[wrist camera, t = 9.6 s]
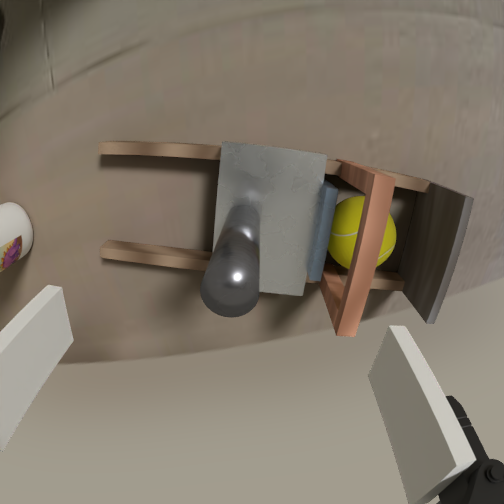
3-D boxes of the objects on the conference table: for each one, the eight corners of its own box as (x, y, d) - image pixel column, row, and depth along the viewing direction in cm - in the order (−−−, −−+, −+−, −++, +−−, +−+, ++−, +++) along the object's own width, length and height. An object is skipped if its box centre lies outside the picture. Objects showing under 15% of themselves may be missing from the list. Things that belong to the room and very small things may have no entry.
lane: (109, 251, 34) (59, 297, 24) (109, 139, 30) (47, 147, 19) (401, 283, 35) (442, 338, 24) (427, 178, 30) (488, 202, 20)
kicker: (215, 269, 34) (182, 380, 18) (226, 140, 29) (187, 150, 13) (307, 279, 34) (337, 393, 19) (329, 153, 29) (400, 180, 14)
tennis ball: (305, 215, 32) (316, 237, 26) (360, 177, 30) (385, 190, 24) (339, 265, 34) (356, 296, 28) (391, 230, 32) (418, 254, 26)
